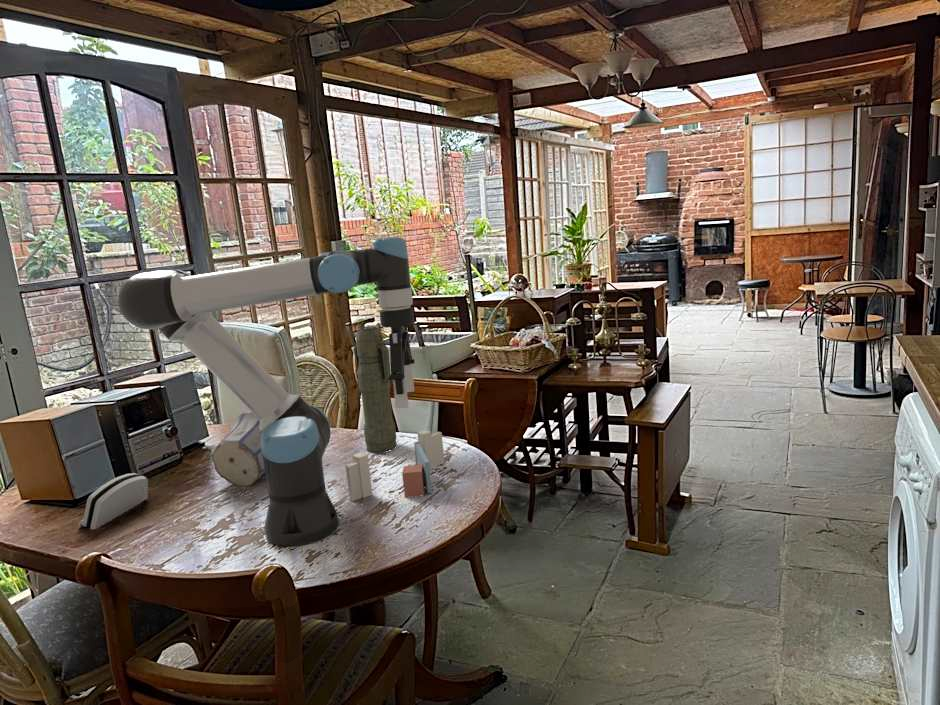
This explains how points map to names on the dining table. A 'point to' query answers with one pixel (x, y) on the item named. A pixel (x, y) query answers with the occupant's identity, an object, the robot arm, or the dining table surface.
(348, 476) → the doorframe
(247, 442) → the potted plant
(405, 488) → the reddish brown block
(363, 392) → the thermos
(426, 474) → the door
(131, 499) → the white napkin holder
